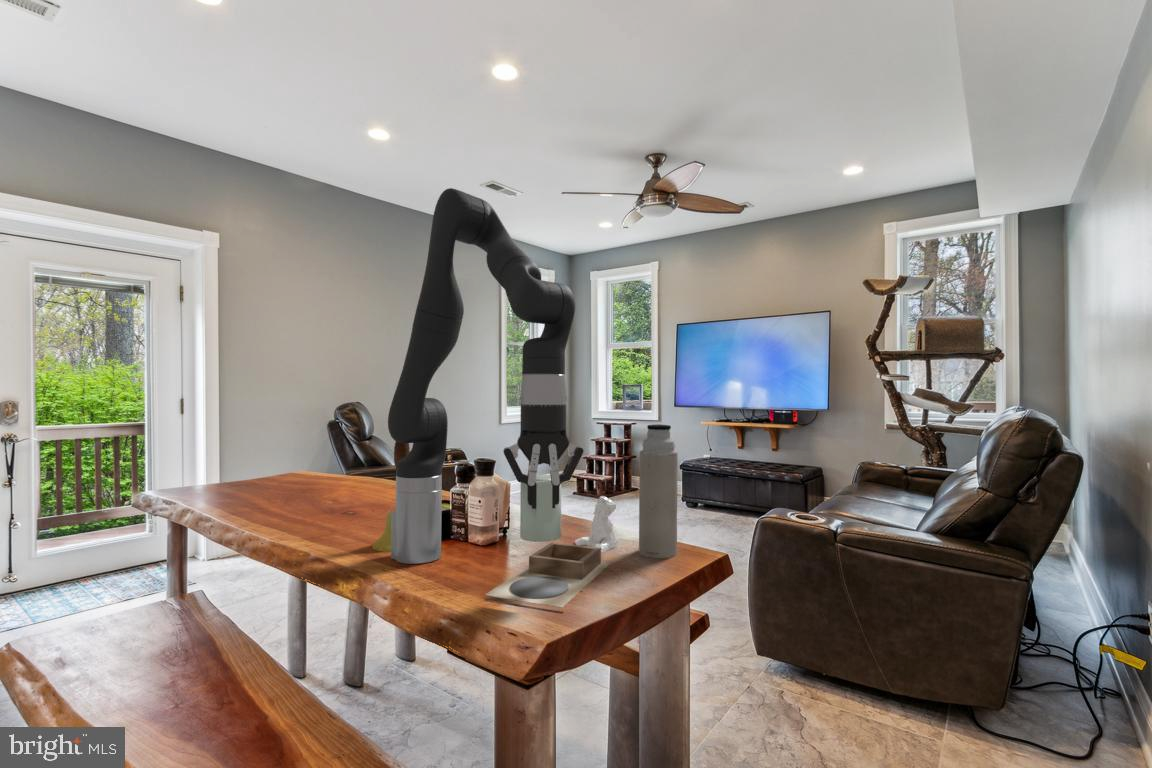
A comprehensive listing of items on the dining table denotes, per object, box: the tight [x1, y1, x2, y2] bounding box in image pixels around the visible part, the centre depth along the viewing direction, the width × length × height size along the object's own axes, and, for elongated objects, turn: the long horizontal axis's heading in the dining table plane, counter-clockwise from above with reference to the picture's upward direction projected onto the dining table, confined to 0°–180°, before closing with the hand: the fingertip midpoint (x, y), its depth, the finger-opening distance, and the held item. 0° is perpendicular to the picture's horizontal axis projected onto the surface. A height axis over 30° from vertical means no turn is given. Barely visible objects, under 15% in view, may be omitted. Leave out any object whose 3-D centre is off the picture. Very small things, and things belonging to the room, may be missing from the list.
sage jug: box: [519, 474, 562, 543], centre depth 96 cm, size 10×7×10 cm
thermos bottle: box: [638, 423, 679, 559], centre depth 120 cm, size 8×8×28 cm
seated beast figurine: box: [574, 495, 620, 554], centre depth 124 cm, size 10×9×12 cm
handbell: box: [372, 441, 411, 553], centre depth 128 cm, size 12×12×25 cm
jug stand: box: [483, 541, 610, 615], centre depth 103 cm, size 14×24×4 cm, turn 159°
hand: (543, 507), depth 93 cm, fingers closed on sage jug, 2 cm apart
